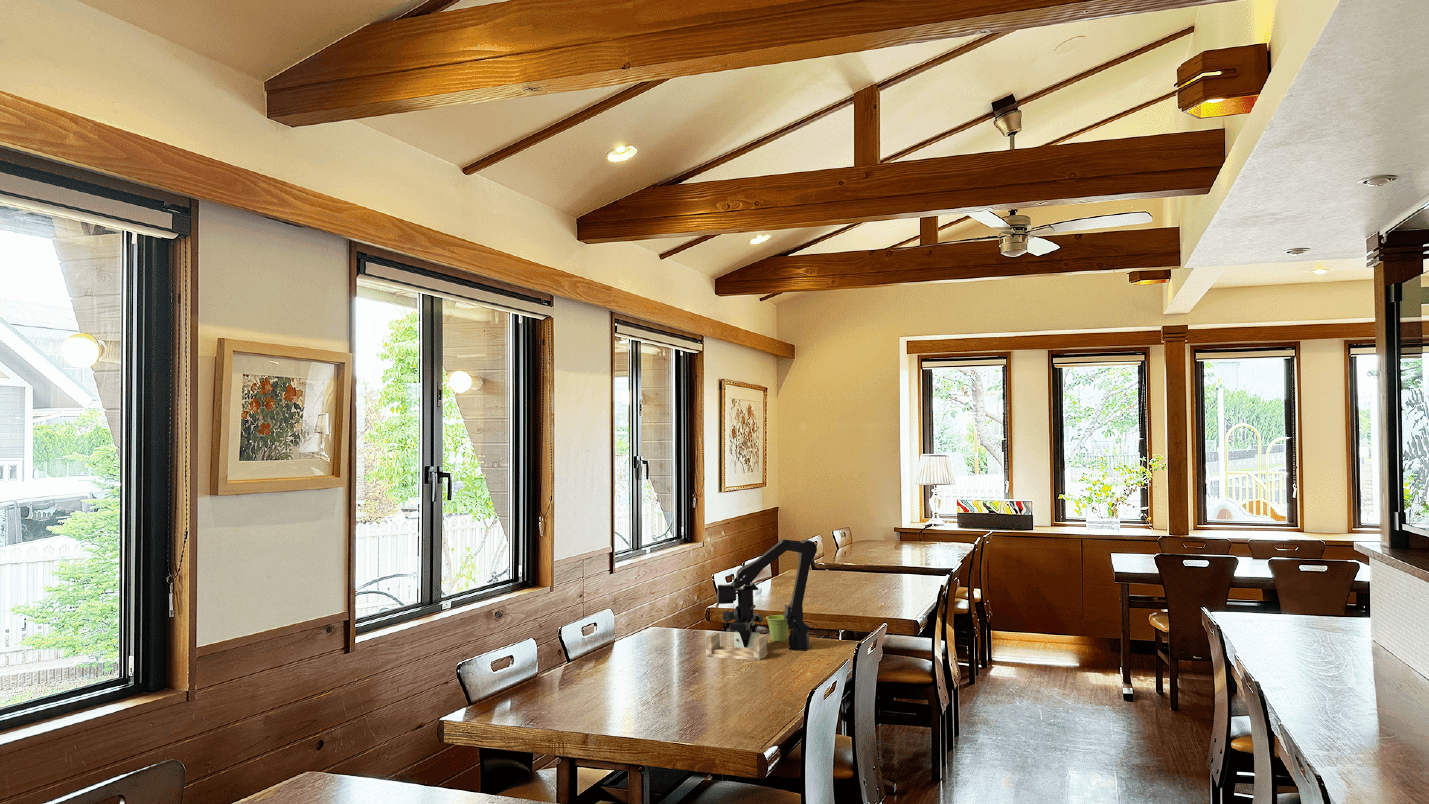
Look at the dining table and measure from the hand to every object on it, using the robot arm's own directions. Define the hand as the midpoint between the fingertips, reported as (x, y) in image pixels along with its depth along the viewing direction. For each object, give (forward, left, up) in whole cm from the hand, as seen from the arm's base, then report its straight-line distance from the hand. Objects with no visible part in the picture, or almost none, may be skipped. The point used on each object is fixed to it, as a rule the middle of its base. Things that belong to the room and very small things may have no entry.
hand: (747, 646), depth 326 cm
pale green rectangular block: (0, 0, -1) cm, 1 cm away
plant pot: (-5, -21, -2) cm, 22 cm away
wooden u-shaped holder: (+1, +8, -2) cm, 8 cm away
